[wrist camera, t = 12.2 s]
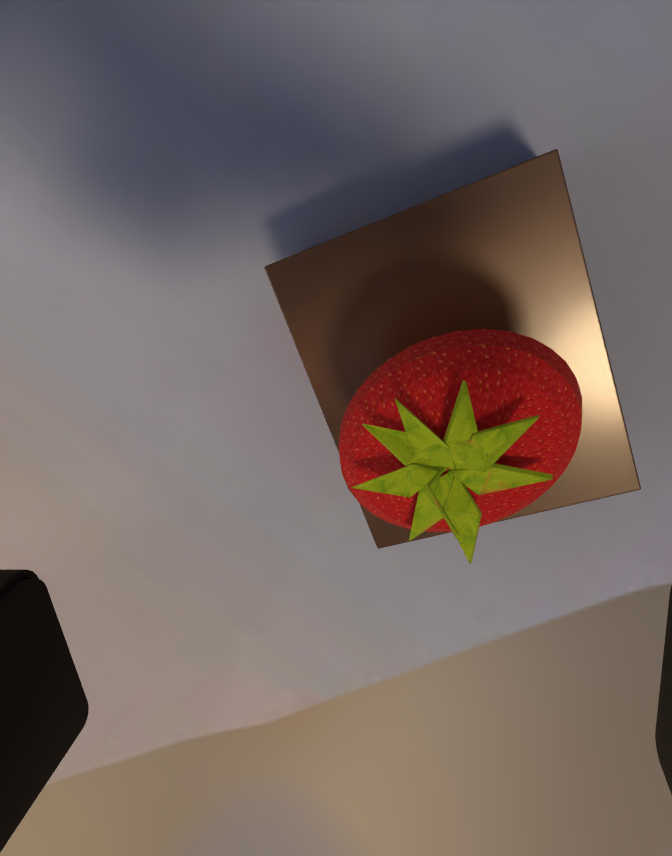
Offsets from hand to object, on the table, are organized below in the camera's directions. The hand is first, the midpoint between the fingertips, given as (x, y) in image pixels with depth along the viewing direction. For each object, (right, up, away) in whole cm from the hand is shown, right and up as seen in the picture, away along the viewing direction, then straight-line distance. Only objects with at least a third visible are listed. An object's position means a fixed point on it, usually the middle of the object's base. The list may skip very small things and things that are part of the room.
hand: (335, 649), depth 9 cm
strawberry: (+5, +5, +14) cm, 16 cm away
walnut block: (+6, +7, +19) cm, 21 cm away
